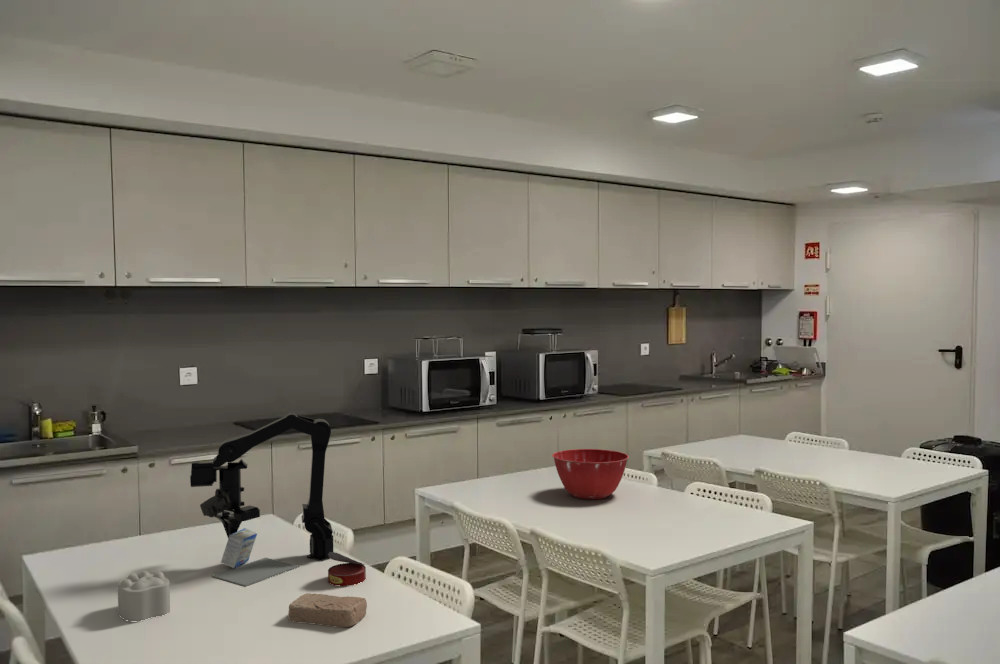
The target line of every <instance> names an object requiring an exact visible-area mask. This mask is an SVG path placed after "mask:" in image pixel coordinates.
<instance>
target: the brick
mask: <svg viewBox="0 0 1000 664" xmlns="http://www.w3.org/2000/svg"><path fill="white" fill-rule="evenodd" d="M367 607H368V603H367V599H366V598H365V597H361V596H349V595H347V596H338V595H329V594H323V593H309V592H308V593H304V594H302V595H300V596H299V597H297V598H296V599H294V600H293V601H292V602H290V604H289V606H288V613H287V614H288V622H290V621H291V622H292V621H294V622H293V623H298V622H306V623H305V624H308V623H315V624H314V625H317V624H322V625H321V626H326V625H329V626H328V627H334V626H336V628H349V627H352V626H354V625H357V623H358V622H360V621H362V620H363V618H364V617H365V616H366V615H367Z"/></svg>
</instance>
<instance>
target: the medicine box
mask: <svg viewBox="0 0 1000 664" xmlns="http://www.w3.org/2000/svg"><path fill="white" fill-rule="evenodd" d="M257 536H258V532H257V533H256V532H255V531H253V530H251V529H248V528H246V527H244V528H242V529H240V530H238V531H237V532H235V533H233V534H230V536H229V539H228V538H227V542H226V545H225V548H224V551H223V553H222V558H221V560H220V563H221V564H223V565H225V566H227V567H229V568H231V569H233V568H236V567H239V566H242V565H244V564H246V563H248V561H249V560H250V557H251V554H252V551H253V548H254V545H255V542H256V538H257Z"/></svg>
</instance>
